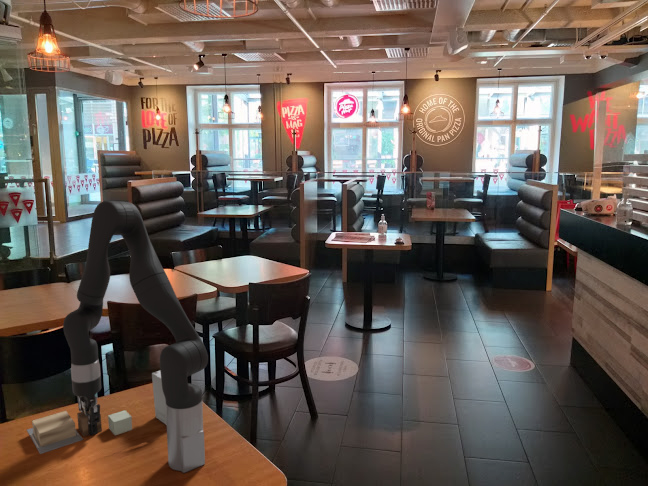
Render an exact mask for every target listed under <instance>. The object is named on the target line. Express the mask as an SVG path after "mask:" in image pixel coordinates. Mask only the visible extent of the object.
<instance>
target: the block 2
mask: <svg viewBox="0 0 648 486" xmlns="http://www.w3.org/2000/svg"><path fill="white" fill-rule="evenodd" d="M107 419H108V420H107V422H108V429H109V430H110V432H111V433H112V434H113V435H114V436H117V435H120V434H124V433H126V432H131V431H132V430H133V420H132V419H133V418H132V415H131V414H129V412H127V410H126V409H125V410H122V411H121V410H120V411H118V412H115V413H111V414H108V415H107Z"/></svg>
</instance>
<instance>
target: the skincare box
mask: <svg viewBox="0 0 648 486" xmlns="http://www.w3.org/2000/svg"><path fill="white" fill-rule="evenodd" d="M151 379H152V381H151V382H152V390H153V391H152V392H153V401H154V402H153V403H154V412H155V413H154V414H155V417H156V419H158V420H159V421H160V422H162V423H163V424H164V425H166V426H167V422H166V400H165V396H164V393H163V390H162V381H161V372H160V370H158V371H155V372H151Z"/></svg>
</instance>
